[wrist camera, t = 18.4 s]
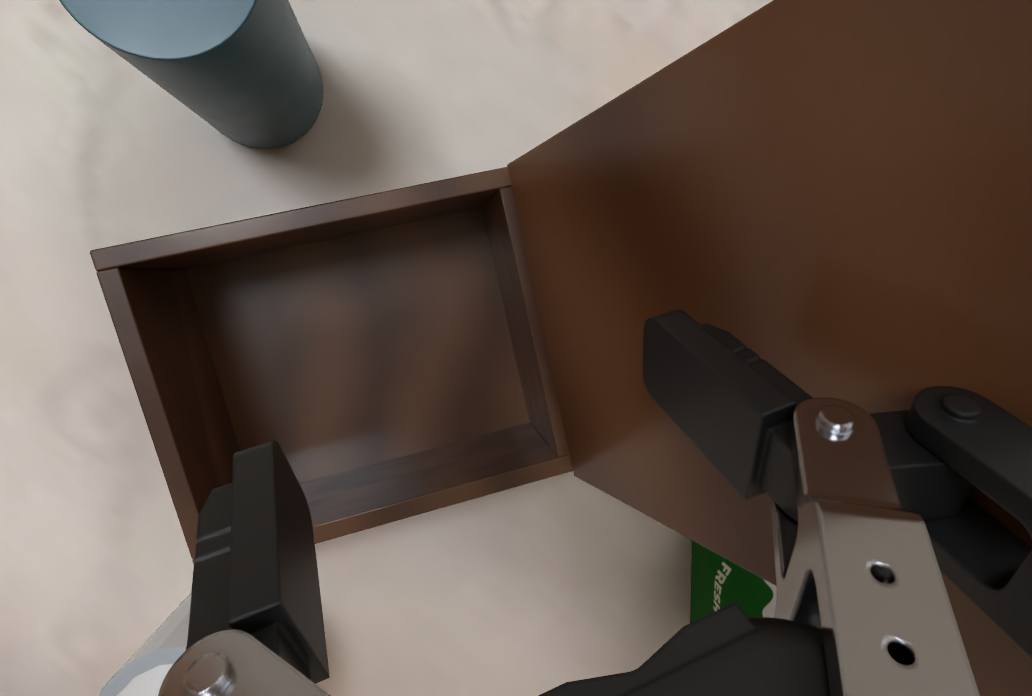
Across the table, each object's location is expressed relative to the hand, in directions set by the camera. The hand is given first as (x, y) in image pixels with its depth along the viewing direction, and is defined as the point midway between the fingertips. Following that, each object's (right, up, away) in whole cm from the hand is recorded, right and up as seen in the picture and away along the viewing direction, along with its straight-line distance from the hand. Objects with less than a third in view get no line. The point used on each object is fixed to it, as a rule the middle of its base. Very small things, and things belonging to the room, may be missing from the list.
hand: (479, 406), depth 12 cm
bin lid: (+5, +2, +4) cm, 7 cm away
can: (-12, +14, +16) cm, 25 cm away
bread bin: (-7, +1, +19) cm, 20 cm away
